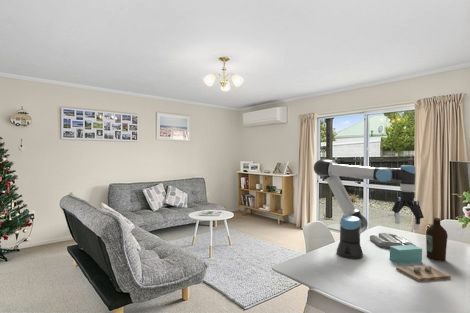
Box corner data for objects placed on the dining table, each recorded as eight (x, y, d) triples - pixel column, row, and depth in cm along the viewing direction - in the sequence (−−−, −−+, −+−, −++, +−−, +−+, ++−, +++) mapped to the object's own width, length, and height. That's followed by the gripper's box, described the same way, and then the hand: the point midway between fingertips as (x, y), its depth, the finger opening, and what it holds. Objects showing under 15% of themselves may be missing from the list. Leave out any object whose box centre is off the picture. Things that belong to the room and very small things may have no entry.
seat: (418, 281, 134) (418, 273, 134) (396, 269, 148) (396, 262, 148) (450, 278, 138) (450, 270, 138) (426, 267, 152) (426, 260, 152)
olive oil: (441, 256, 169) (442, 216, 169) (450, 262, 159) (451, 220, 159) (422, 254, 172) (423, 215, 171) (430, 260, 161) (431, 219, 161)
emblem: (424, 241, 184) (398, 246, 172) (424, 248, 184) (398, 254, 172) (386, 230, 209) (361, 234, 197) (386, 236, 209) (361, 241, 197)
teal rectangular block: (398, 263, 156) (399, 250, 156) (389, 259, 163) (389, 246, 163) (421, 262, 159) (422, 248, 159) (411, 257, 166) (412, 244, 166)
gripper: (431, 194, 149) (430, 232, 149) (396, 188, 174) (395, 220, 174) (420, 194, 148) (419, 232, 148) (386, 188, 172) (385, 221, 172)
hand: (406, 226), depth 161 cm, fingers open, 13 cm apart
